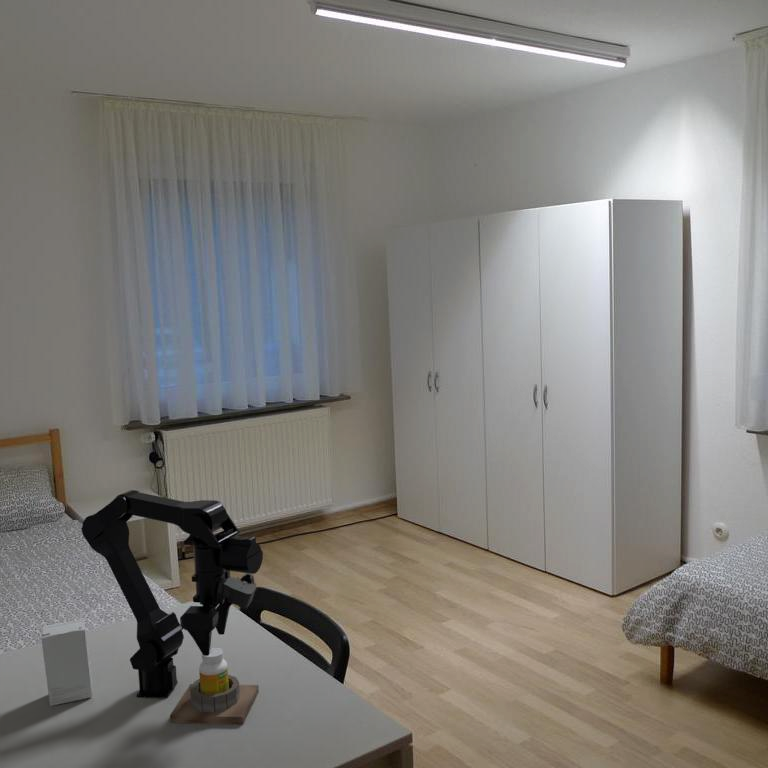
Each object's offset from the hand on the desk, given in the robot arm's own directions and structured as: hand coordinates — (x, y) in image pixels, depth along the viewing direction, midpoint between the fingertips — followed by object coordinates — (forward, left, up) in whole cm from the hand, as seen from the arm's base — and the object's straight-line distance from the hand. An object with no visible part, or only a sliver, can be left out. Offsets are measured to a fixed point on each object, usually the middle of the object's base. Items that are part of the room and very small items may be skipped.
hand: (214, 644), depth 158 cm
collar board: (0, -2, -12) cm, 12 cm away
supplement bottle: (0, -2, -11) cm, 11 cm away
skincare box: (-31, +1, -12) cm, 33 cm away
